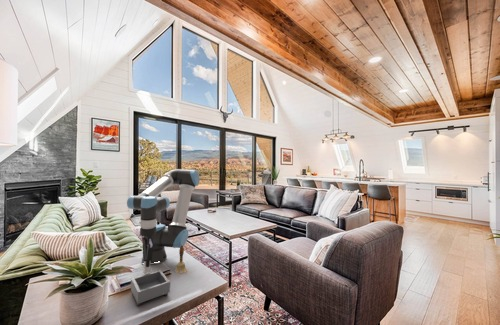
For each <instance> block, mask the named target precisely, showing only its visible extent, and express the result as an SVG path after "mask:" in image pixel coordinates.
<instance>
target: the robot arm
mask: <svg viewBox="0 0 500 325" xmlns="http://www.w3.org/2000/svg"><path fill="white" fill-rule="evenodd" d="M200 180H201V179H200V174H199V172H198V170H196V169H186V168H185V169H183V168H177V169H176V168H175V169H172V170H170V171H167V172H166V173H164V174H162V175H161V177H160V178H159V179H158V180H157V181H155V182H154V183H153V184H152V185H150V186H149V187H147V188H146V189H145V190H144V191H142V192H141V193H140V194H138V195H131V196H129V197H128V199H127V200H126V206H127V208H128V209H131V210H140V221H139V222H138V223H139V226H140V228H139V235H140V236H141V237H142V238H141V240H142V258H141V264H142V263H144V265H143V275H145V274H149V273H151V265H150V263H154V262H158V261H160V262H162V263H163V262H165V261H166V260H167V258H168V255H167V252H166V249H165V248H173V249H177V248H178V249H180V247H181V245H183V247H184V246H185V245H186V243H187V241H188V238H189V236H190V235H189V230H188V229H187V225H186V222H187V221H186V220H187V216H188V213H189V207H190V203H191V198H192V193H193V191H194V190H195V189H196V187H198V186H199V184H200ZM174 185H178V188H179V192H178V197H177V200H176V204H175V207H174V208H175V209H174V212H173V218H172V220H171V223H169V224H168V227H166V224H157V218H158V217H157V214H158V213H160V212H162V211H165V210H166V209H168V208H169V207H170V204H171V201H170V199H169V198H168V197H167V196H160V197H159V195H160V194H162V193H163V192H164V191H165V190H167V188H169V187H172V186H174Z"/></svg>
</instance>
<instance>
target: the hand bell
mask: <svg viewBox="0 0 500 325" xmlns="http://www.w3.org/2000/svg"><path fill="white" fill-rule="evenodd" d="M184 252H185V248H184V246H183V245H181V247H180V248H179V262H178V263H176V268H175V269H174V272H175V273H176V274H188V272H189V270H188V269H187V268H186V263H185V262H184V261H183V260H184V259H183V258H184V257H183V256H184V254H185V253H184Z"/></svg>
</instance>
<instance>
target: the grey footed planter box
mask: <svg viewBox="0 0 500 325" xmlns="http://www.w3.org/2000/svg"><path fill="white" fill-rule="evenodd" d="M130 290H131V295H132V296H133V297H134V300H135V301H136V302H135V303H136V306H137V307H139V306H141V304H142V303H144V302H147V301H149V300H152V299H154V298H155V299H156V298H158V297H161V296H165V297H166V296H168V295H169V293H170V292H171V281H170V280H169V279H168V277H167V276H166V275H165V273H164V272H163V271H162V269H159V270H156V271H153V272H148V273H145V274H142V275H138V276H135V277H132V278H130Z"/></svg>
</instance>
